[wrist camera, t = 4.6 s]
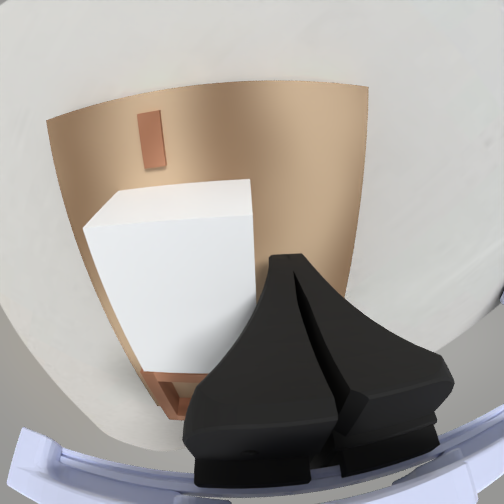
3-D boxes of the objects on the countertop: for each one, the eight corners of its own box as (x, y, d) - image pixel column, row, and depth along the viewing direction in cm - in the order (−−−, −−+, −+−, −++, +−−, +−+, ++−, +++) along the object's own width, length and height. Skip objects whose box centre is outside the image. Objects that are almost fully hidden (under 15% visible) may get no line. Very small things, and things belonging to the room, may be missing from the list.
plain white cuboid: (250, 178, 10) (252, 215, 7) (256, 321, 14) (258, 372, 11) (117, 190, 10) (82, 228, 7) (156, 323, 14) (143, 371, 11)
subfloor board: (358, 86, 9) (387, 88, 7) (314, 391, 20) (319, 419, 18) (59, 116, 9) (23, 128, 7) (159, 395, 20) (154, 422, 18)
